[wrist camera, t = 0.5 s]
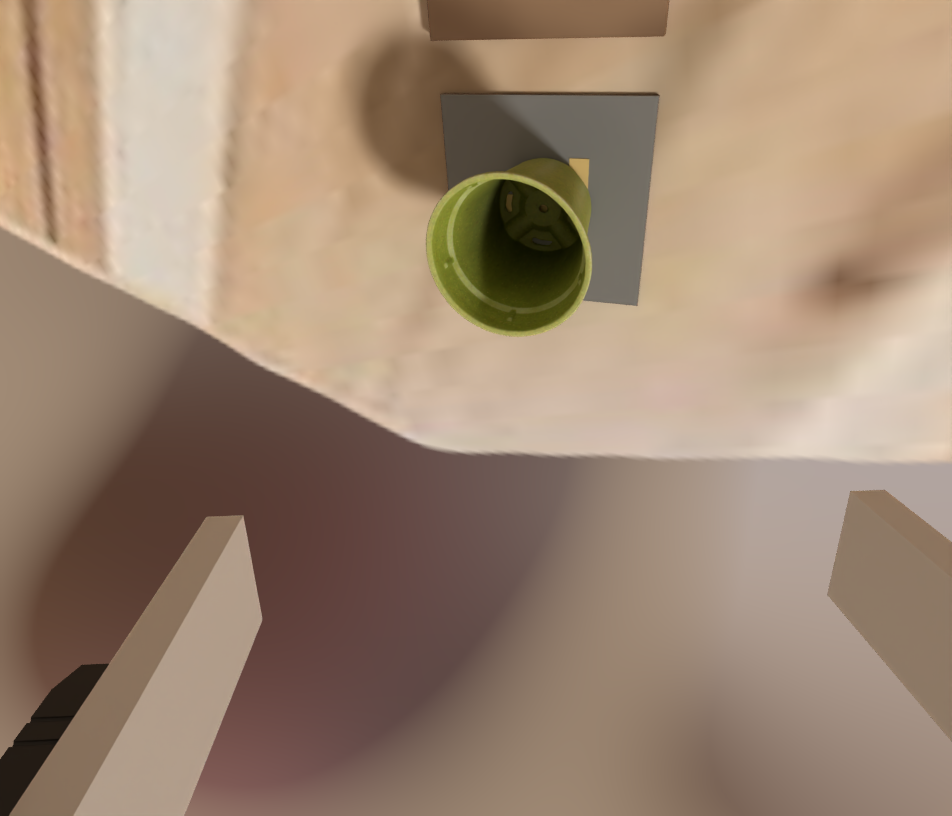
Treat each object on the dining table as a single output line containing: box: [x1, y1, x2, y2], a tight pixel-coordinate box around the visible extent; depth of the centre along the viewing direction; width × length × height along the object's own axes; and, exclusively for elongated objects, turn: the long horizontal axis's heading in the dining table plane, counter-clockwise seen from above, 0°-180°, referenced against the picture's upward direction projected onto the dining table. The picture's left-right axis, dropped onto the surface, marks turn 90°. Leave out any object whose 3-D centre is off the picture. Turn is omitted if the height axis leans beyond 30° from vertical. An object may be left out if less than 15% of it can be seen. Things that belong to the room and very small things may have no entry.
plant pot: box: [426, 158, 592, 337], centre depth 38 cm, size 9×9×9 cm
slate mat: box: [441, 94, 659, 306], centre depth 41 cm, size 13×13×1 cm
